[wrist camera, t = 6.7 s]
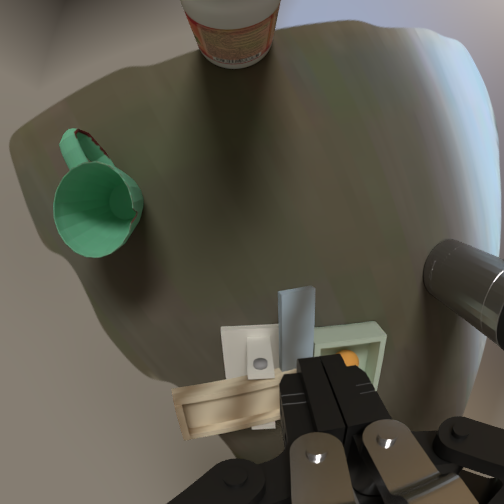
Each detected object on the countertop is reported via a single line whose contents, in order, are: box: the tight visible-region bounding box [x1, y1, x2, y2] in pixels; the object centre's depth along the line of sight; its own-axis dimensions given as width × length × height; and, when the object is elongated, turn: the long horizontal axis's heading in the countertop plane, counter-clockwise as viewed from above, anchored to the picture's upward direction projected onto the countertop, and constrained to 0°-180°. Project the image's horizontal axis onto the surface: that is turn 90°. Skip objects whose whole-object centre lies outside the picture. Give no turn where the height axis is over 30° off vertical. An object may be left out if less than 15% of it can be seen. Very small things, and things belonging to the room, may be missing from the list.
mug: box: [53, 128, 143, 258], centre depth 32 cm, size 15×10×10 cm
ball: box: [336, 350, 359, 367], centre depth 40 cm, size 4×4×4 cm
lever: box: [172, 286, 315, 440], centre depth 32 cm, size 17×17×3 cm
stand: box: [221, 324, 279, 430], centre depth 38 cm, size 10×12×10 cm
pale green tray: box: [313, 321, 387, 391], centre depth 41 cm, size 10×10×4 cm
